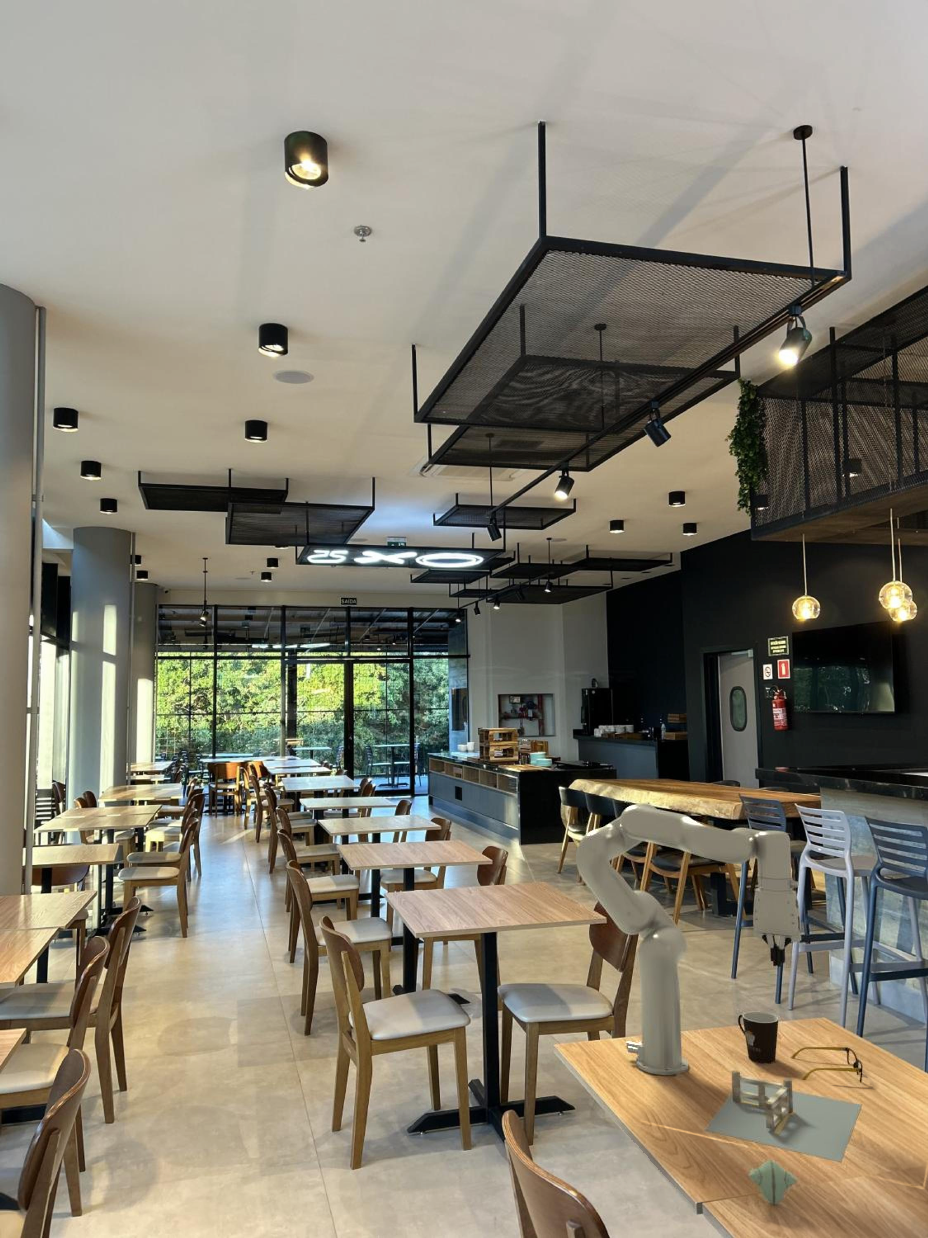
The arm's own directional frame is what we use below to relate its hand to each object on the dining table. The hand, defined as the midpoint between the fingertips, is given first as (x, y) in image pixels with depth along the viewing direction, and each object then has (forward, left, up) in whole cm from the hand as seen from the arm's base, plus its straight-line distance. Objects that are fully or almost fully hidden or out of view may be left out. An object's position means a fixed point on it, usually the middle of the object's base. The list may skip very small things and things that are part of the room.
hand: (778, 965), depth 208 cm
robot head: (+9, -53, -27) cm, 60 cm away
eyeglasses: (+7, +16, -28) cm, 33 cm away
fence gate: (+3, -21, -26) cm, 33 cm away
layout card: (+4, -17, -27) cm, 32 cm away
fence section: (-1, -14, -27) cm, 30 cm away
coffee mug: (-9, +17, -27) cm, 33 cm away
